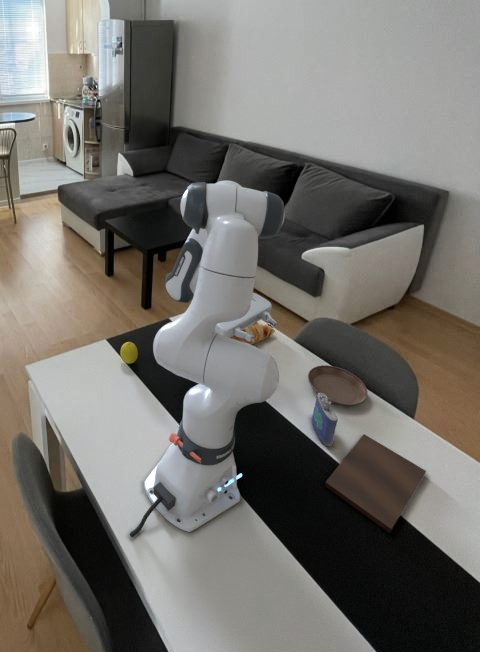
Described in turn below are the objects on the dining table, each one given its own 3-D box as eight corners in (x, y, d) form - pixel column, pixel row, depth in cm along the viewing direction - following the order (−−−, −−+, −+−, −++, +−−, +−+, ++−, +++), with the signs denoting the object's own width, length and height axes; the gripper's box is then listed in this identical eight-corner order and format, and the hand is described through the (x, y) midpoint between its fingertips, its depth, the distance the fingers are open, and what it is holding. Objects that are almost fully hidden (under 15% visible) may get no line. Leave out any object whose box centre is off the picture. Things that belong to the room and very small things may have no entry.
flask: (333, 447, 106) (340, 415, 102) (321, 446, 106) (327, 414, 102) (320, 417, 114) (326, 386, 111) (308, 416, 115) (313, 386, 111)
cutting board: (390, 533, 87) (391, 529, 87) (324, 486, 97) (325, 481, 97) (424, 475, 98) (426, 470, 98) (362, 438, 108) (363, 433, 107)
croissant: (268, 337, 151) (265, 314, 152) (284, 342, 141) (280, 318, 142) (210, 344, 149) (207, 320, 150) (222, 349, 139) (219, 324, 140)
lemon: (118, 359, 140) (117, 339, 137) (133, 355, 141) (133, 335, 138) (124, 370, 135) (124, 350, 132) (140, 366, 136) (140, 346, 133)
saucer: (375, 413, 115) (377, 406, 114) (316, 408, 117) (317, 400, 116) (353, 374, 128) (354, 367, 127) (300, 370, 131) (301, 363, 130)
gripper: (200, 309, 122) (238, 338, 112) (249, 284, 131) (289, 309, 121) (198, 326, 125) (236, 356, 115) (246, 300, 134) (285, 326, 124)
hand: (263, 332), depth 118 cm, fingers open, 8 cm apart
